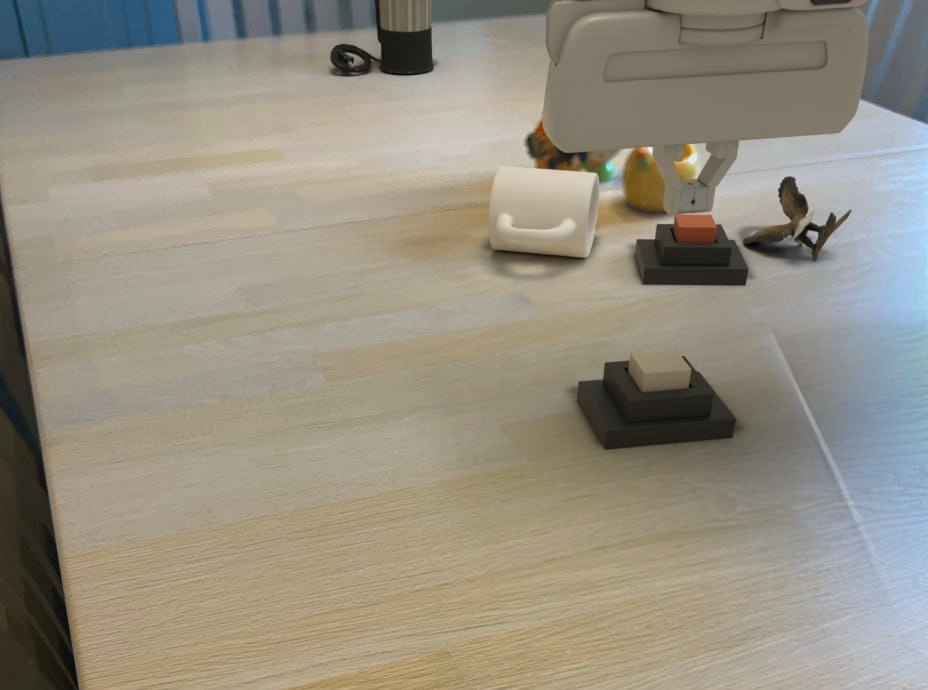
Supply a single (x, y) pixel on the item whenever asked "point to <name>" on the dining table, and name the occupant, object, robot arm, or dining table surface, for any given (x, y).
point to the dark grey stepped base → (689, 260)
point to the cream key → (659, 370)
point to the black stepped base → (652, 411)
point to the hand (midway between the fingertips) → (686, 211)
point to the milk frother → (395, 39)
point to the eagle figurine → (797, 221)
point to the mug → (543, 211)
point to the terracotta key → (694, 229)
